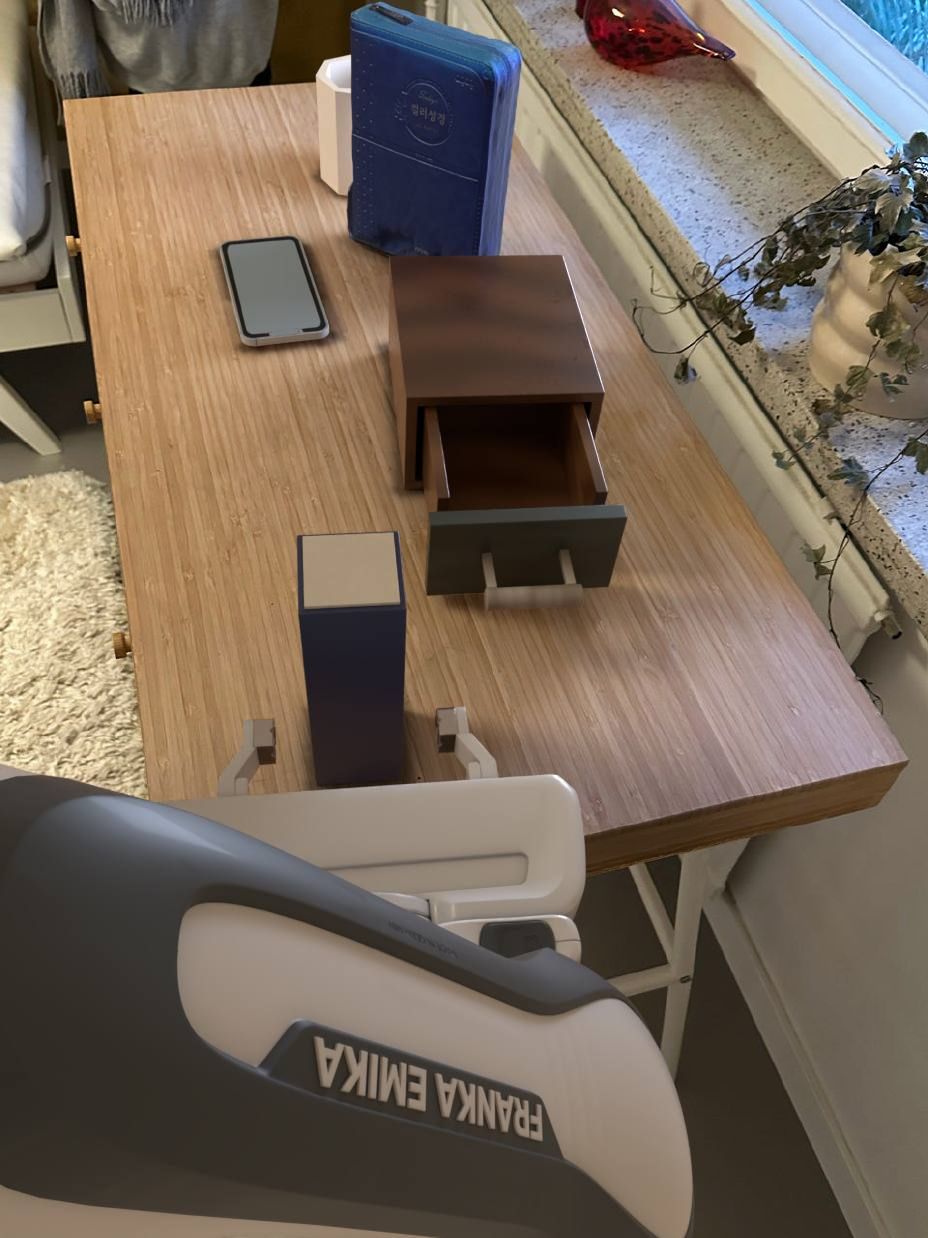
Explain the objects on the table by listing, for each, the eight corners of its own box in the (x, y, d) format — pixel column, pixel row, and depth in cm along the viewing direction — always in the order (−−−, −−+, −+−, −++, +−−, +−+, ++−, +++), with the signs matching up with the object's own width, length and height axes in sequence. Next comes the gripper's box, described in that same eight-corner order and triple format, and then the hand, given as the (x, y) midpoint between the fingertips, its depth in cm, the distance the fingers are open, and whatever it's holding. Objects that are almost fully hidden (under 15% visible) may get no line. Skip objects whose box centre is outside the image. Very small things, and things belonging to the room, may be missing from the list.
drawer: (622, 638, 66) (643, 569, 61) (432, 648, 65) (437, 579, 59) (568, 432, 78) (582, 360, 73) (407, 437, 77) (409, 364, 71)
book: (340, 246, 93) (332, 9, 78) (372, 221, 96) (370, -13, 81) (475, 300, 90) (495, 62, 74) (504, 272, 93) (530, 38, 77)
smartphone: (299, 233, 93) (331, 330, 84) (299, 242, 94) (331, 339, 85) (217, 241, 91) (241, 340, 82) (218, 249, 92) (242, 349, 83)
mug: (314, 157, 103) (309, 55, 95) (398, 152, 105) (399, 52, 97) (334, 222, 96) (330, 117, 88) (423, 216, 98) (427, 112, 90)
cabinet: (585, 483, 76) (605, 392, 69) (404, 490, 75) (406, 397, 68) (548, 345, 86) (563, 254, 80) (388, 348, 85) (388, 255, 78)
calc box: (315, 785, 59) (297, 612, 46) (313, 713, 62) (296, 531, 49) (401, 779, 60) (407, 606, 47) (395, 708, 63) (398, 527, 50)
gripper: (130, 1045, 44) (153, 764, 52) (594, 1000, 46) (545, 739, 55) (98, 998, 39) (129, 696, 47) (620, 950, 41) (561, 671, 50)
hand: (355, 718), depth 51 cm, fingers open, 8 cm apart
